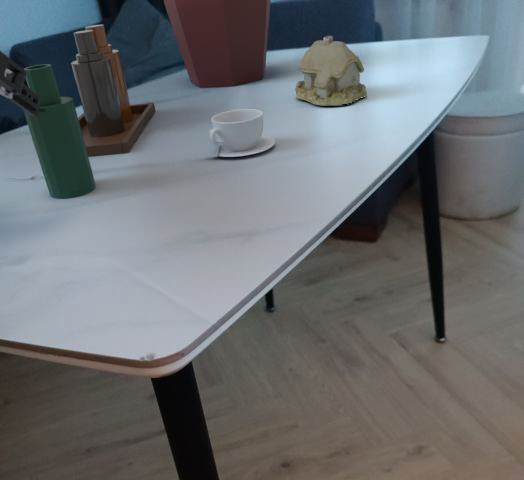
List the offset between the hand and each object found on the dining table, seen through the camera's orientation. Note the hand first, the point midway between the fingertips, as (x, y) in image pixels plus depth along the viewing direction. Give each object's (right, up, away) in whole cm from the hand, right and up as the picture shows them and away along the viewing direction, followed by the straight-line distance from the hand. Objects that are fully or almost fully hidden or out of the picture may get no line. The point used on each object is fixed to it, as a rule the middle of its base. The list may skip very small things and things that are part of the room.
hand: (11, 107), depth 68 cm
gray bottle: (+3, +9, +31) cm, 33 cm away
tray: (+3, +8, +31) cm, 32 cm away
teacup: (+26, +1, +18) cm, 32 cm away
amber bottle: (+3, +13, +37) cm, 39 cm away
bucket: (+21, +32, +63) cm, 74 cm away
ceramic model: (+41, +17, +39) cm, 59 cm away
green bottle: (+4, -7, +10) cm, 13 cm away
